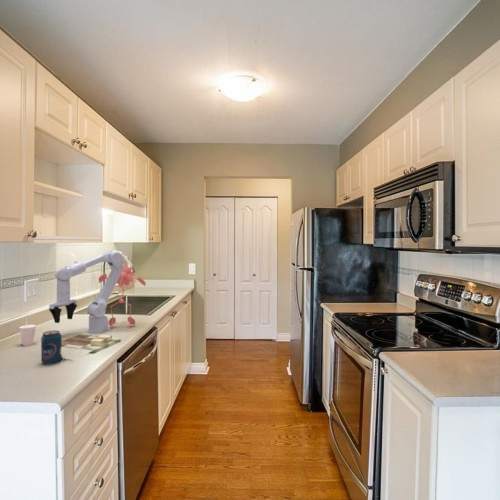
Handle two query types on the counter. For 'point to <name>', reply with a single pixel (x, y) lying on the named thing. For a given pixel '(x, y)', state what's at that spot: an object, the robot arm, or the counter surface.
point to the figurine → (123, 279)
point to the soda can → (51, 347)
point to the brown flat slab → (87, 343)
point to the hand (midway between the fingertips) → (63, 320)
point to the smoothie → (27, 334)
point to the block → (101, 340)
